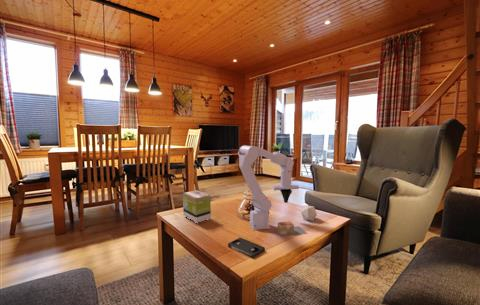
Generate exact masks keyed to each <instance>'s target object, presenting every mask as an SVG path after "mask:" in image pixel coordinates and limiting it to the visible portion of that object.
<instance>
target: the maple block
mask: <svg viewBox="0 0 480 305" xmlns="http://www.w3.org/2000/svg"><path fill="white" fill-rule="evenodd" d="M294 227H295V224H294V223H292V222H291V221H290V220H288V221H281V222H277V231H278V232H279V233H280V234H286V233H294Z"/></svg>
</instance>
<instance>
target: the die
mask: <svg viewBox="0 0 480 305" xmlns="http://www.w3.org/2000/svg"><path fill="white" fill-rule="evenodd" d="M300 213H301V216H302V219H303V220H304V221H309V222H313V221H314V220H315V219H316V217H317V211H316V208H315V206H313V205H304V206H303V208H302V210H300Z"/></svg>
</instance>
